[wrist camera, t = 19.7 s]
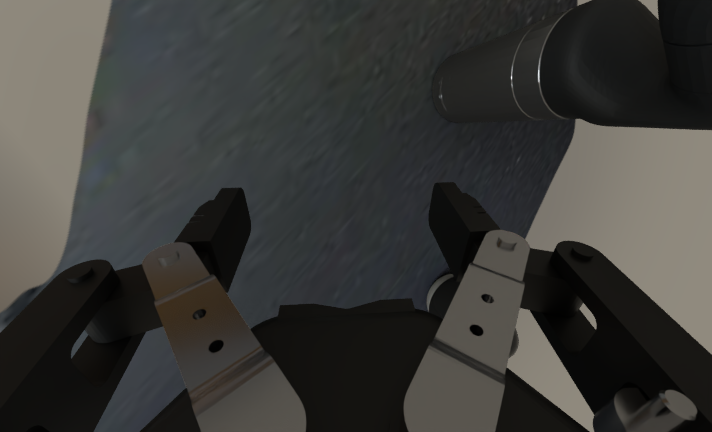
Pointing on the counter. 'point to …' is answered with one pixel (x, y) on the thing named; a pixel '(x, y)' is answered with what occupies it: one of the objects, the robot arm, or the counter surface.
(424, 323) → the robot arm
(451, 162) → the counter surface
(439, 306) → the dark grey rounded pod
